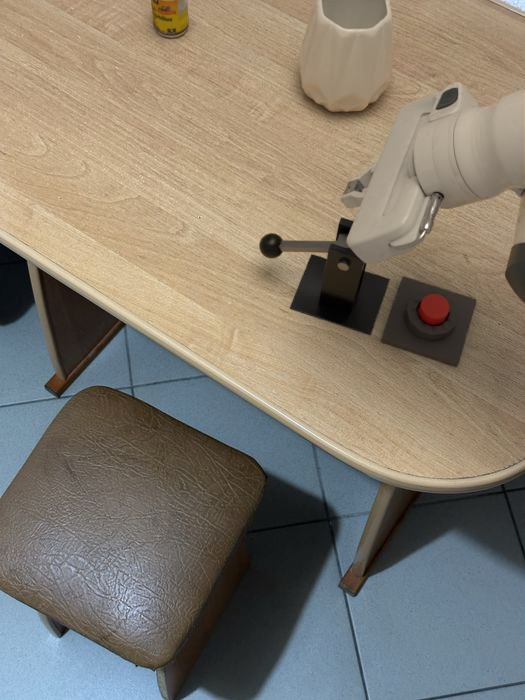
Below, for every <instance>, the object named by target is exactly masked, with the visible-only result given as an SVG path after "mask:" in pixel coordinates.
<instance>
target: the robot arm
mask: <svg viewBox="0 0 525 700" xmlns="http://www.w3.org/2000/svg"><path fill="white" fill-rule="evenodd" d="M507 191H512V192H514V193H515V194H516V195H517V196H518V197H519V198H520V200H519V205H518V206H519V207H518V212H517V219H516V225H515V231H514V239H513V244H512V246H511V249H510V252H509V255H508V260H507V264H506V268H505V271H504V278H505V280H506V282H507V283H508V285H509V287H510V288H511V290H512V291H513V293H514V294H515V295H516V296H517V298H518V299H519V300H520V301H521V302H522V303H523V304H525V87H524V88H522V89H519V90H516V91H513V92H510V93H508V94H505V95H504V96H502V97H500V98H499V99H498V100H497V101H495V102H494V103H491V104H490V105H487V106H480V105H479V103H478V102H477V100H476V99H475V98H474V96H473V95H472V94H471V92H470V91H469V90H468V89H467V88H466V86H465V85H464V84H463V83H462V82H461V81H456V82H453V83H451V84H449V85H447V86H445V87H444V88H443V90H439V91H435V92H432V93H429V94H426V95H424V96H422V97H418V98H416V99H414V100H412V101H409V102H408V103H406V104H405V105H404V106H403V107H402V108H400V110H398V112H397V113H396V115H395V118H394V120H393V122H392V126H391V129H390V131H389V133H388V135H387V137H386V141H385V142H384V145H383V148H382V150H381V152H380V155H379V158H378V160H377V162H374V163H372V164H370V166H368V167H367V168H366V169H365V170H364V171H362V172H361V173H360V174H359V175H357V176H354V177H351V178H349V179H348V181H347V183H346V186H345V188H344V191H343V193H342V195H341V198H340V202H341V203H342V204H343V205H344V206H345V207H346V208H347V209H351V210H352V209H354V208H355V209H356V208H358V210H357V212H356V215H355V216H354V217H355V218H354V220H353V221H354V222H353V225H352V227H351V230H350V232H349V234H348V237H347V244H348V246H349V247H350V248H351V250H352V251H353V252H354V253H355V254H356V255H357V256H358V257H359V258H360V259H361V260H362V261H363V262H365V263H367V265H375V264H378V263H382V262H385V261H387V260H390V259H394V258H396V257H398V256H402V255H404V254H407V253H409V252H411V251H413V250H414V249H416V248H417V247H419V246H420V244H422V243H423V241H424V240H425V238H426V236H427V235H429V234H430V233H431V232H432V230H433V228H434V225H435V220H436V217H437V215H438V213H439V211H440V209H443V210H452V209H456V208H460V207H464V206H468V205H472V204H475V203H479V202H483V201H486V200H490V199H494V198H496V197H498V196H500V195H502V194H503V193H506V192H507Z"/></svg>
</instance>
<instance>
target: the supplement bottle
mask: <svg viewBox="0 0 525 700" xmlns="http://www.w3.org/2000/svg"><path fill="white" fill-rule="evenodd" d="M150 5H151V13H152V23H153V24H152V25H153V28H154V30H155V31H156V33H157V34H159V35H160V36H162V37H165V38H171V39H172V38H178V37H181V36H182V35H184V34H185V33H186V32H187V30H188V28H189V25H190V23H189V22H190V21H189V6H188V5H189V3H188V0H150Z"/></svg>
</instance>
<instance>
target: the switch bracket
mask: <svg viewBox="0 0 525 700" xmlns="http://www.w3.org/2000/svg"><path fill="white" fill-rule="evenodd" d="M353 222H354V220H352V219H348V218H345V217H340V219H339V222H338V225H337V231H336V236H335V240H334V241H337V240H338V237H339V235H340V234H349V232H350V230H351V227H352V225H353ZM326 255H327V256H326V257H322V256H320V255H316V254H313V253H311V254H310V257H309V258H308V261H307V264H306V267H305V268H304V271H303V273H302V276H301V279H300V281H299V284H298V286H297V288H296V291H295V294H294V296H293V299H292V301H291V304H290V306H289V310H292V311H294V312H298V313H301V314H304V315H307V316H310V317H313V318H316V319H319V320H322V321H326V322H328V323H331V324H335V325H338V326H341V327H344V328H346V329H349V330H353V331H356V332H358V333H362V334H364V335H367V336H371V334H372V332H373V330H374V326H375V323H376V321H377V318H378V315H379V312H380V309H381V306H382V303H383V300H384V298H385V296H386V295H385V294H386V292H387V288H388V287H389V286H388V285H389V283H390V278H388V277H385V276H382V275H379V274H376V273H372V272H369V271H366V269H367V265H368V264H367V263H365V262H363V261H362V260H361V259H360V258H359V257H358V256H357V255H356V254H355V253H354V252H353V251H352V250H351V249H348V248H344V247H341V246H338V245H335V244H332V243H331V244H330V247H329V250H328V253H327V254H326Z"/></svg>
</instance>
